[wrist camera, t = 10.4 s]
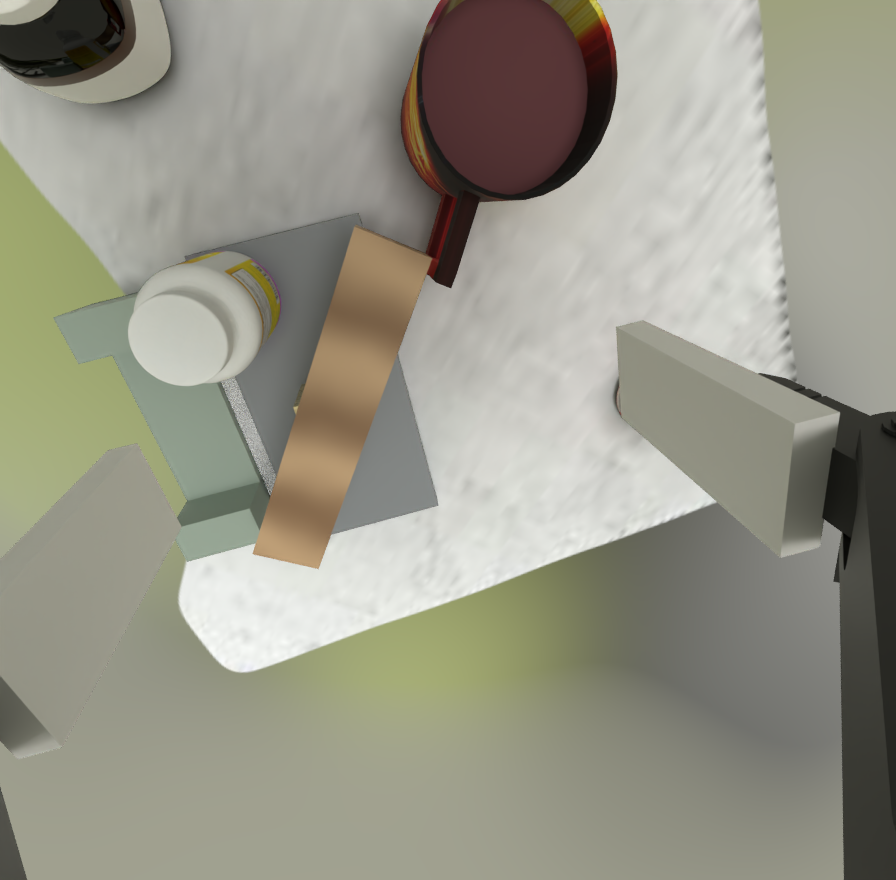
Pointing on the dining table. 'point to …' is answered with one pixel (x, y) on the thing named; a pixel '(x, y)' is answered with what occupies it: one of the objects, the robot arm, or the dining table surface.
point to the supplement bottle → (204, 318)
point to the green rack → (182, 435)
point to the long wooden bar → (341, 394)
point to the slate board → (288, 364)
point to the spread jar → (85, 46)
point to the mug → (504, 107)
